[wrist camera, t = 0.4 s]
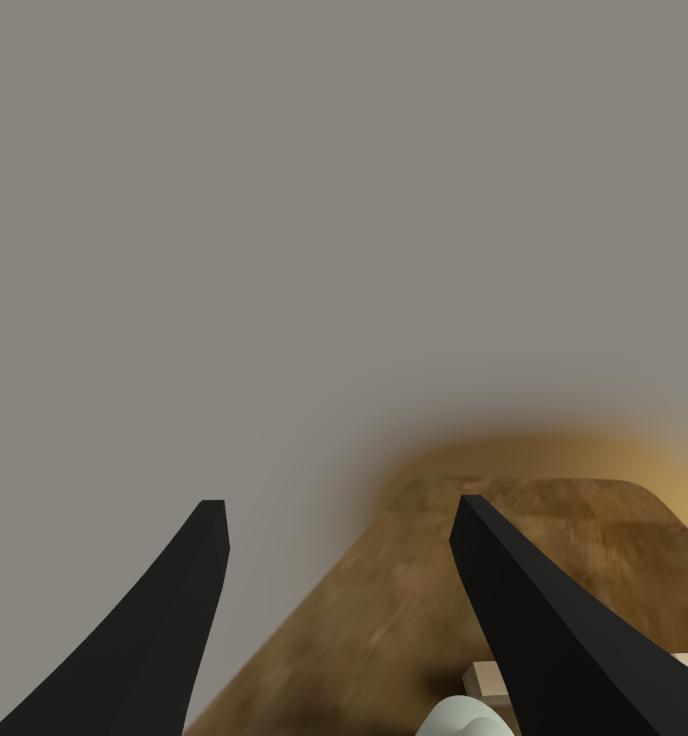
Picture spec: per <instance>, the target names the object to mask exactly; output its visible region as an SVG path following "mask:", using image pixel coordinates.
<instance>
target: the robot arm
mask: <svg viewBox="0 0 688 736" xmlns="http://www.w3.org/2000/svg"><path fill="white" fill-rule="evenodd" d="M449 542H450V546H451V549H452V553H453V556H454V560H455V563H456V566H457V569H458V572H459V576H460V578H461V581H462V583H463V585H464V588H465V590H466V593H467V595H468V597H469V600H470V602H471V605H472V607H473V609H474V612H475V614H476V616H477V619H478V621H479V623H480V626H481V628H482V630H483V633H484V635H485V637H486V640H487V642H488V644H489V647H490V649H491V651H492V654H493V656H494V658H495V661H496V663H497V666H498V668H499V671H500V673H501V676H502V678H503V681H504V683H505V686H506V689H507V692H508V695H509V698H510V701H511V704H512V707H513V710H514V713H515V716H516V718H517V721H518V724H519V727H520V730H521V733H522V736H688V666H686V665H685V664H683V663H682V662H680V661H679V660H678V659H676V658H675V657H673V656H672V655H670V654H669V653H668V652H666V651H665V650H663V649H662V648H660V647H659V646H658V645H656V644H655V643H653V642H652V641H651V640H649V639H648V638H647V637H645V636H644V635H642V634H641V633H640V632H638V631H637V630H636V629H634V628H633V627H632V626H631V625H629V624H628V623H627V622H625V621H624V620H623V619H621V618H620V617H619V616H617V615H616V614H615V613H614V612H612V611H611V610H610V609H608V608H607V607H606V606H605V605H603V604H602V603H601V602H600V601H598V600H597V599H596V598H595V597H593V596H592V595H591V594H590V593H588V592H587V591H586V590H585V589H584V588H582V587H581V586H580V585H579V584H578V583H577V582H575V581H574V580H573V579H572V578H571V577H569V576H568V575H567V574H566V573H565V572H564V571H562V570H561V569H560V568H559V567H558V566H557V565H556V564H554V563H553V562H552V561H551V560H550V559H549V558H548V557H547V556H545V555H544V554H543V553H542V552H541V551H540V550H539V549H538V548H537V547H536V546H534V545H533V544H532V543H531V542H530V541H529V540H528V539H527V538H526V537H525V536H524V535H523V534H522V533H520V532H519V531H518V530H517V529H516V528H515V527H514V526H513V525H512V524H511V523H510V522H509V521H508V520H507V519H506V518H505V517H504V516H503V515H501V514H500V513H499V512H498V511H497V510H496V509H495V508H494V507H493V506H492V505H491V504H490V503H489V502H488V501H487V500H486V499H484V498H483V497H482V496H481V495H461V499H460V503H459V506H458V510H457V514H456V517H455V521H454V525H453V528H452V532H451V535H450V539H449ZM229 551H230V545H229V536H228V527H227V519H226V511H225V503H224V500H202V501H201V502H200V503H199V504H198V506H197V507H196V508H195V510H194V511H193V512H192V514H191V515H190V516H189V518H188V519H187V520H186V522H185V523H184V524H183V526H182V527H181V528H180V530H179V531H178V532H177V534H176V535H175V536H174V537H173V539H172V540H171V541H170V543H169V544H168V545H167V546H166V548H165V549H164V550H163V551H162V553H161V554H160V555H159V556H158V558H157V559H156V560H155V561H154V562H153V564H152V565H151V566H150V567H149V569H148V570H147V571H146V572H145V574H144V575H143V576H142V577H141V578H140V579H139V581H138V582H137V583H136V584H135V585H134V586H133V587H132V588H131V590H130V591H129V592H128V593H127V594H126V595H125V596H124V598H123V599H122V600H121V601H120V602H119V603H118V604H117V606H116V607H115V608H114V609H113V610H112V611H111V612H110V613H109V614H108V616H107V617H106V618H105V619H104V620H103V621H102V622H101V623H100V624H99V625H98V626H97V627H96V629H95V630H94V631H93V632H92V633H91V634H90V635H89V636H88V637H87V638H86V639H85V640H84V641H83V642H82V643H81V644H80V645H79V646H78V647H77V648H76V650H75V651H73V652H72V653H71V654H70V655H69V656H68V657H67V658H66V659H65V661H64V662H63V663H62V664H60V665H59V666H58V667H57V668H56V669H55V670H54V671H53V672H52V673H51V674H50V675H49V676H48V677H47V678H46V679H45V680H44V681H43V682H42V683H41V684H40V685H39V686H38V687H37V688H36V689H35V690H34V691H33V692H32V693H31V694H30V695H29V696H28V697H26V698H25V699H24V700H23V701H22V702H21V703H20V704H19V705H18V706H17V707H16V708H15V709H14V710H13V711H12V712H11V713H10V714H8V715H7V716H6V717H5V718H4V719H3V720H2V721H1V722H0V736H182V731H183V727H184V722H185V717H186V713H187V709H188V705H189V702H190V698H191V694H192V690H193V686H194V683H195V680H196V676H197V673H198V669H199V666H200V662H201V659H202V656H203V653H204V649H205V646H206V642H207V639H208V636H209V632H210V629H211V626H212V622H213V619H214V615H215V612H216V608H217V605H218V602H219V598H220V595H221V591H222V588H223V583H224V578H225V573H226V568H227V561H228V557H229Z"/></svg>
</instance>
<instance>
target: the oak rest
mask: <svg viewBox="0 0 688 736" xmlns="http://www.w3.org/2000/svg"><path fill="white" fill-rule="evenodd" d="M670 655H672V656H673V657H675V658H676V659H678V660H679V661H680V662H682V663H683V664H685V665H686V666H688V653H683V654H670ZM462 679H463V683H464V687H465V691H466V695H467V696H468V697H472V698H474V699H477V700H479V701H481V702H482V703H484V704H486V705H487V706H488V707H490V708H508V707H512V704H511V701H510V698H509V695H508V692H507V689H506V686H505V683H504V681H503V678H502V676H501V673H500V671H499V668H498V666H497V663H496V661H485V662H473V663H472V664H471V666H470V667H469V668H468V670H467V671H466V673H465V674H464V675H463V677H462Z"/></svg>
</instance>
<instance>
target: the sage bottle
mask: <svg viewBox="0 0 688 736" xmlns="http://www.w3.org/2000/svg"><path fill="white" fill-rule="evenodd" d="M415 736H514V735H513V733H512V731H511V730H510V729H509V727H508V726H507V725H506V723H505V722H504V721H503V720H502V719H501V718H500V716H499V715H498V714H497V713H496V712H494V711H493V710H492V709H491V708H490V707H488V706H487V705H486V704H484V703H482V702H481V701H479V700H477V699H474V698H472V697H468V696H459V695H457V696H451V697H448V698H446V699H444V700H442V701H441V702H439V703H438V704H437V705H436V706H435V707H434V709H433V710H432V711H431V712H430V714H429V715H428V717H427V718H426V720H425V721H424V723H423V724H422V726H421V727H420V729H419V730H418V732H417V733H416V735H415Z"/></svg>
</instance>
